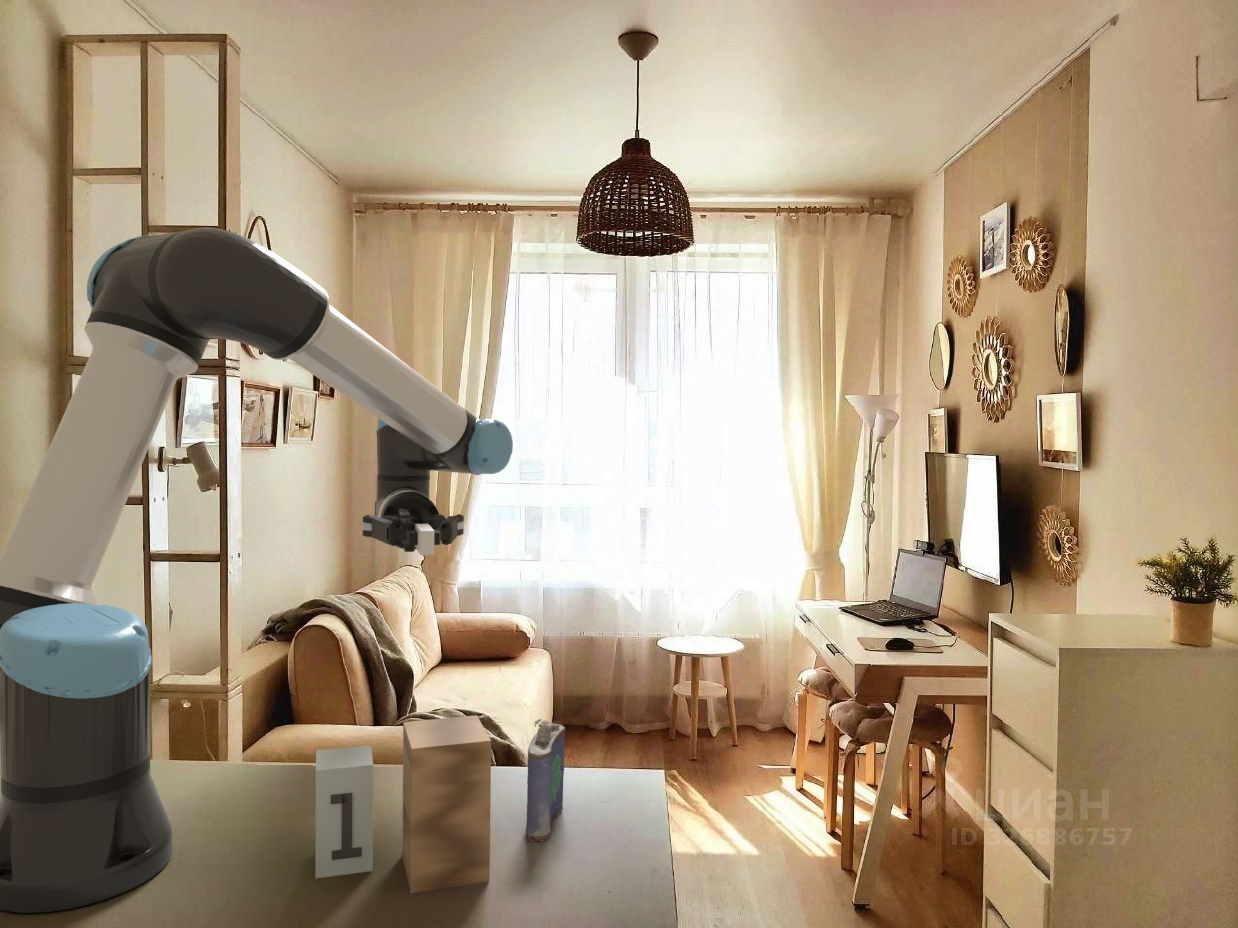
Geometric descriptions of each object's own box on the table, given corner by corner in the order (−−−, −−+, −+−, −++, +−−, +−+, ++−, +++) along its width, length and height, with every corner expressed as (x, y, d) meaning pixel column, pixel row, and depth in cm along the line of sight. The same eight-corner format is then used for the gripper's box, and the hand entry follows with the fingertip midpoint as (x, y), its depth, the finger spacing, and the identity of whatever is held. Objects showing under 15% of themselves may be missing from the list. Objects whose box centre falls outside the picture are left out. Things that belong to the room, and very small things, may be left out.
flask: (547, 843, 89) (548, 737, 88) (518, 840, 89) (519, 735, 89) (566, 803, 98) (567, 707, 97) (540, 801, 98) (541, 705, 98)
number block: (315, 879, 81) (315, 771, 81) (316, 852, 86) (316, 750, 86) (372, 871, 83) (373, 765, 82) (370, 845, 88) (370, 745, 87)
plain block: (410, 892, 79) (411, 748, 79) (402, 855, 86) (403, 722, 85) (489, 880, 82) (491, 740, 81) (475, 845, 88) (476, 715, 87)
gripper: (456, 545, 124) (485, 574, 102) (358, 547, 120) (366, 578, 98) (457, 490, 124) (486, 508, 101) (359, 491, 120) (366, 509, 97)
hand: (427, 542), depth 99 cm, fingers closed
